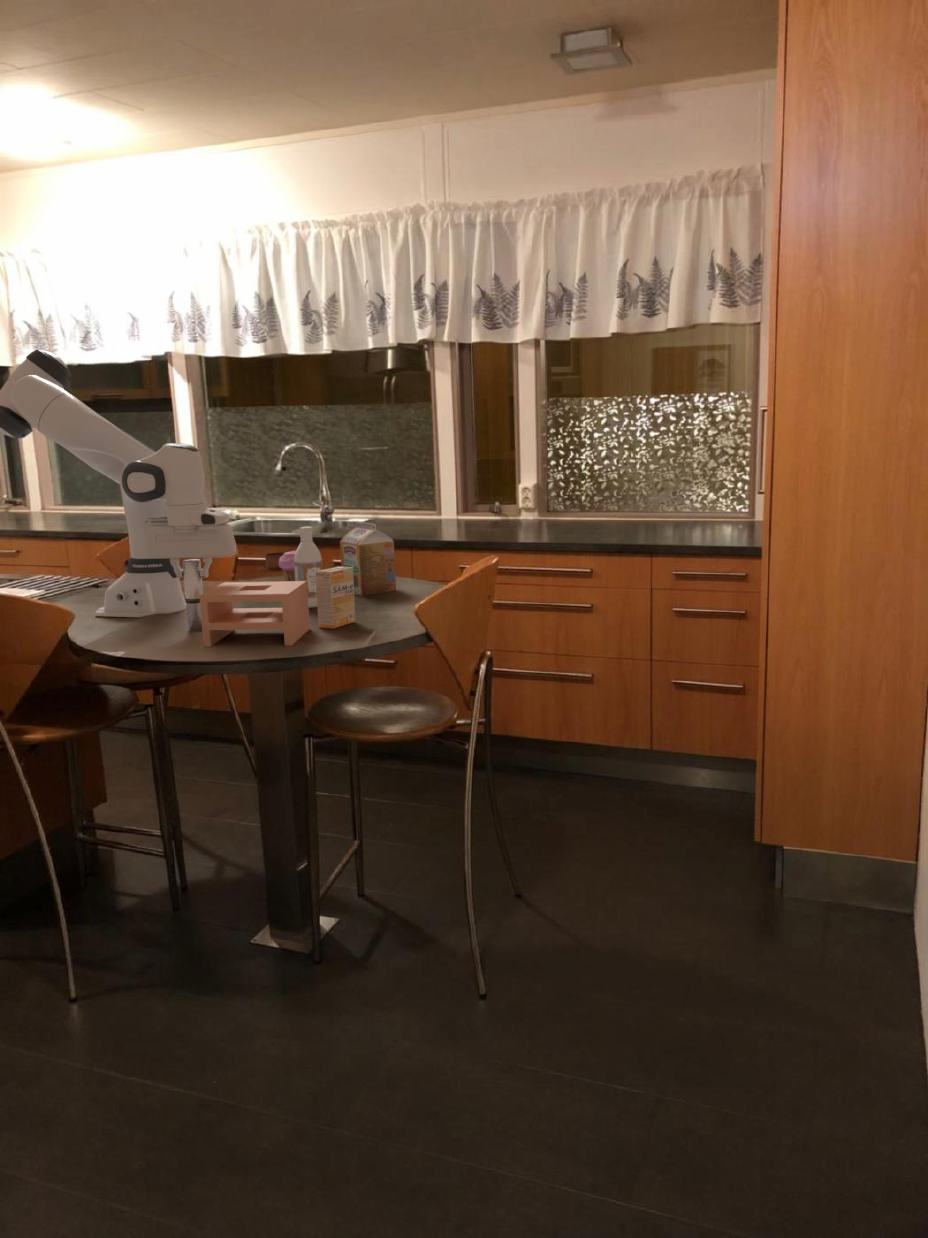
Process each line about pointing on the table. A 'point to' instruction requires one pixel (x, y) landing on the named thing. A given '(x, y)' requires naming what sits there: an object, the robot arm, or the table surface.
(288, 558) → the cupcake
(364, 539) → the milk carton
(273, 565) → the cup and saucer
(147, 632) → the table surface
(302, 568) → the bath foam
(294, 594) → the collar frame
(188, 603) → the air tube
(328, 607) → the supplement box
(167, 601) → the robot arm
